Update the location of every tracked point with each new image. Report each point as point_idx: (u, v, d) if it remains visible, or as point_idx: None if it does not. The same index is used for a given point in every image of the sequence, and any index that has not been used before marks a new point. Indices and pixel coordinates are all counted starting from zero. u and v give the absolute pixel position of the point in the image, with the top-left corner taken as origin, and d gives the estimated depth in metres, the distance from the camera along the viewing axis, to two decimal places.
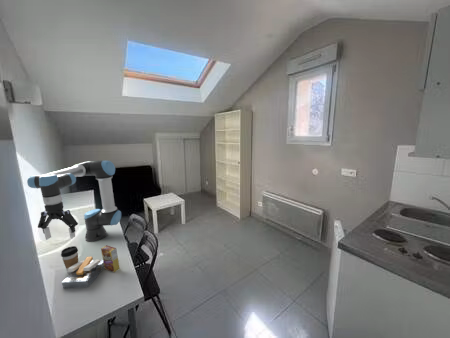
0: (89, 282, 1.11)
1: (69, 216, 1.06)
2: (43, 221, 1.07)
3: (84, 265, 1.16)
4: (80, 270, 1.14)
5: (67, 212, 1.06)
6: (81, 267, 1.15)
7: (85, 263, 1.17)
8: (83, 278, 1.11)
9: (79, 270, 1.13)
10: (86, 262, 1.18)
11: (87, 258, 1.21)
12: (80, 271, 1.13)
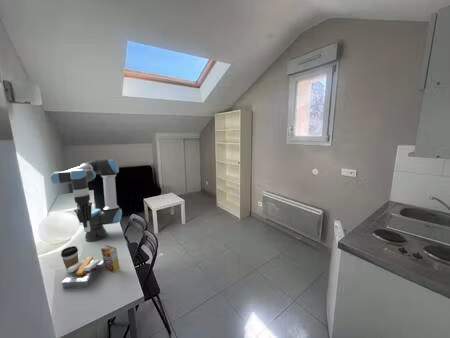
0: (89, 282, 1.11)
1: (77, 214, 1.13)
2: None
3: (84, 265, 1.16)
4: (80, 270, 1.14)
5: (76, 211, 1.12)
6: (81, 267, 1.15)
7: (85, 263, 1.17)
8: (83, 278, 1.11)
9: (79, 270, 1.13)
10: (86, 262, 1.18)
11: (87, 258, 1.21)
12: (80, 271, 1.13)
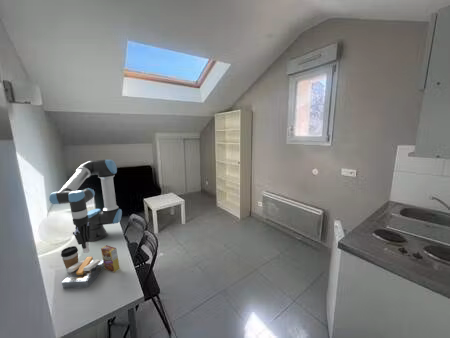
0: (89, 282, 1.11)
1: (76, 236, 1.12)
2: None
3: (84, 265, 1.16)
4: (80, 270, 1.14)
5: (74, 234, 1.10)
6: (81, 267, 1.15)
7: (85, 263, 1.17)
8: (83, 278, 1.11)
9: (79, 270, 1.13)
10: (86, 262, 1.18)
11: (87, 258, 1.21)
12: (80, 271, 1.13)
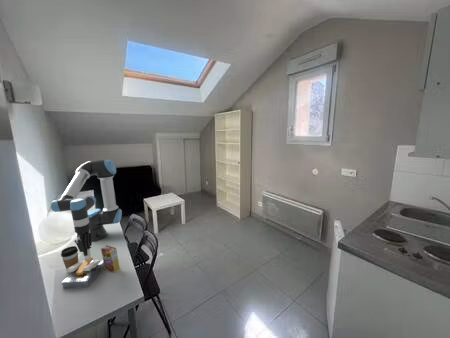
0: (89, 282, 1.11)
1: (78, 244, 1.13)
2: None
3: (84, 265, 1.16)
4: (80, 270, 1.14)
5: (76, 242, 1.11)
6: (81, 267, 1.15)
7: (85, 263, 1.17)
8: (83, 278, 1.11)
9: (79, 270, 1.13)
10: (86, 262, 1.18)
11: None
12: (80, 271, 1.13)
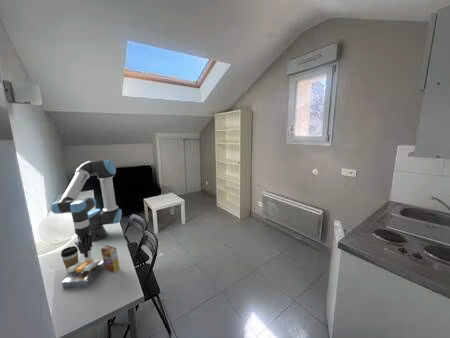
0: (89, 282, 1.11)
1: (78, 246, 1.13)
2: None
3: (84, 264, 1.17)
4: (80, 267, 1.13)
5: (76, 244, 1.12)
6: (81, 265, 1.15)
7: (85, 263, 1.18)
8: (83, 278, 1.11)
9: (79, 267, 1.13)
10: (87, 262, 1.19)
11: None
12: (80, 268, 1.13)
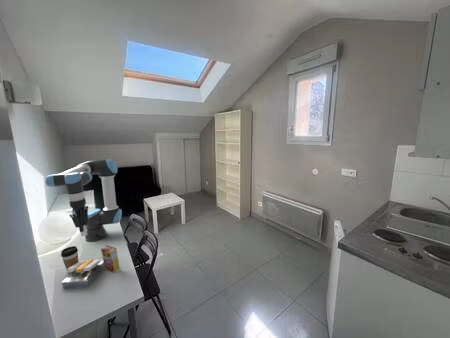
0: (89, 282, 1.11)
1: (73, 219, 1.10)
2: None
3: (84, 264, 1.17)
4: (80, 267, 1.13)
5: (71, 216, 1.08)
6: (81, 265, 1.15)
7: (85, 263, 1.18)
8: (83, 278, 1.11)
9: (79, 267, 1.13)
10: (87, 262, 1.19)
11: (88, 260, 1.21)
12: (80, 268, 1.13)
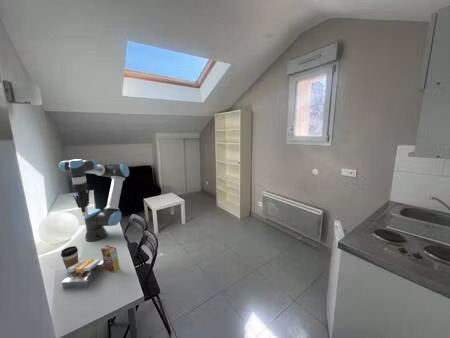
0: (89, 282, 1.11)
1: (76, 200, 1.25)
2: None
3: (84, 264, 1.17)
4: (80, 267, 1.13)
5: (74, 197, 1.23)
6: (81, 265, 1.15)
7: (85, 263, 1.18)
8: (83, 278, 1.11)
9: (79, 267, 1.13)
10: (87, 262, 1.19)
11: (88, 260, 1.21)
12: (80, 268, 1.13)
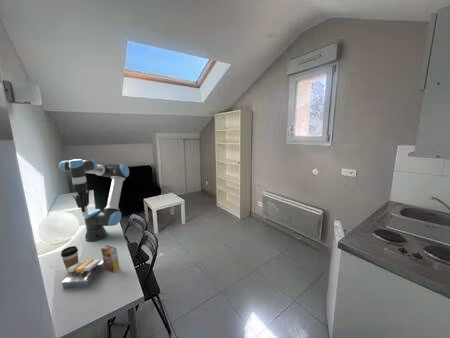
0: (89, 282, 1.11)
1: (76, 200, 1.25)
2: None
3: (84, 264, 1.17)
4: (80, 267, 1.13)
5: (74, 197, 1.23)
6: (81, 265, 1.15)
7: (85, 263, 1.18)
8: (83, 278, 1.11)
9: (79, 267, 1.13)
10: (87, 262, 1.19)
11: (88, 260, 1.21)
12: (80, 268, 1.13)
